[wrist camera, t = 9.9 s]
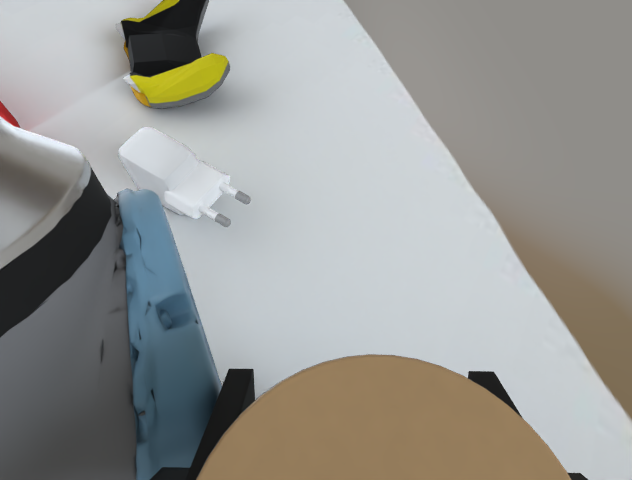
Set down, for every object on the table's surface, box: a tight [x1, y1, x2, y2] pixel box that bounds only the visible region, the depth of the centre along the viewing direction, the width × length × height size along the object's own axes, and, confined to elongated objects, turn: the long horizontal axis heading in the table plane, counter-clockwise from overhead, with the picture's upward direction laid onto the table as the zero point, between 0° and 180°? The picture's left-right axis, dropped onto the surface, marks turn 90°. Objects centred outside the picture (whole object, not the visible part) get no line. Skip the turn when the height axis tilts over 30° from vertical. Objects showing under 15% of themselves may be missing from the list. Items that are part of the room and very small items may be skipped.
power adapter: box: [118, 127, 251, 227], centre depth 39 cm, size 11×5×6 cm, turn 56°
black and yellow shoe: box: [116, 0, 230, 108], centre depth 48 cm, size 15×6×10 cm
